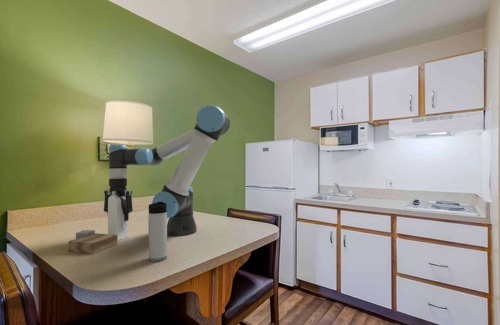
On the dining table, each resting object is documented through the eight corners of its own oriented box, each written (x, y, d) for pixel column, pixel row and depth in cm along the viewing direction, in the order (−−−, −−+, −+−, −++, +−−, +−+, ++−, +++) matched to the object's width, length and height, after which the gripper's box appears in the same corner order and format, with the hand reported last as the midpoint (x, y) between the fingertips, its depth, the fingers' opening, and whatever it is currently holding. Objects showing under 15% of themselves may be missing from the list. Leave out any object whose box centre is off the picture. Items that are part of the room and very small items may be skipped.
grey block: (94, 241, 113) (94, 230, 113) (87, 244, 108) (87, 233, 108) (83, 241, 113) (83, 230, 113) (75, 244, 108) (75, 233, 108)
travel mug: (169, 254, 95) (169, 201, 95) (164, 261, 88) (163, 204, 88) (152, 255, 94) (152, 201, 95) (145, 262, 88) (145, 204, 88)
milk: (107, 239, 116) (107, 191, 116) (119, 235, 121) (119, 189, 122) (116, 240, 113) (116, 191, 114) (128, 237, 119) (128, 190, 119)
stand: (117, 244, 108) (117, 235, 108) (93, 253, 96) (93, 243, 96) (94, 242, 111) (94, 233, 111) (68, 251, 99) (68, 241, 99)
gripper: (141, 177, 119) (141, 226, 119) (107, 177, 124) (107, 224, 124) (129, 178, 112) (130, 230, 111) (94, 178, 117) (94, 228, 116)
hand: (118, 227), depth 117 cm, fingers closed on milk, 7 cm apart
